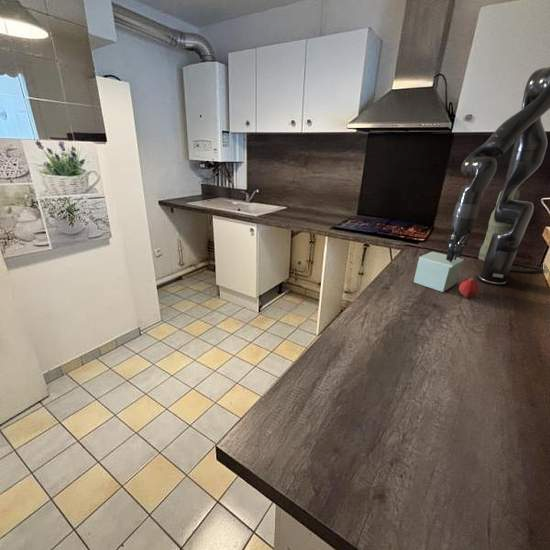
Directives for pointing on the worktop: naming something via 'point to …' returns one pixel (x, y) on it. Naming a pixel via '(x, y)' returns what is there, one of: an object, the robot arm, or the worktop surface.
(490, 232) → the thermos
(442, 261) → the lid
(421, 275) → the light blue lidded box
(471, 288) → the onion
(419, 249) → the worktop surface
